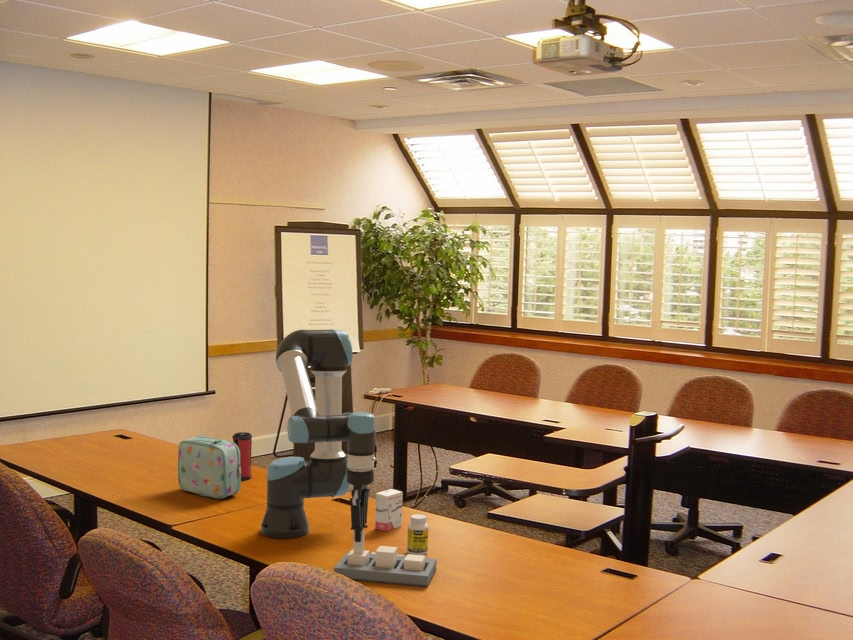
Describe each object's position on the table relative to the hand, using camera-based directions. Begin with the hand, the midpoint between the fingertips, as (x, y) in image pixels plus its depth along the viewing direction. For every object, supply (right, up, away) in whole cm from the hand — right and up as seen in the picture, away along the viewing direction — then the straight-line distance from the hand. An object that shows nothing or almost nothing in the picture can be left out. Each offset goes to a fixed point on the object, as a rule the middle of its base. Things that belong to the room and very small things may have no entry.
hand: (358, 551), depth 239 cm
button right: (+16, -5, -3) cm, 17 cm away
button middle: (+8, -3, -1) cm, 9 cm away
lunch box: (-61, 0, +77) cm, 99 cm away
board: (+8, -6, -1) cm, 10 cm away
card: (+8, -5, +11) cm, 15 cm away
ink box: (+6, -4, +42) cm, 42 cm away
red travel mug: (-55, +1, +102) cm, 115 cm away
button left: (0, -5, 0) cm, 5 cm away
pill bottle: (+16, -5, +18) cm, 25 cm away
